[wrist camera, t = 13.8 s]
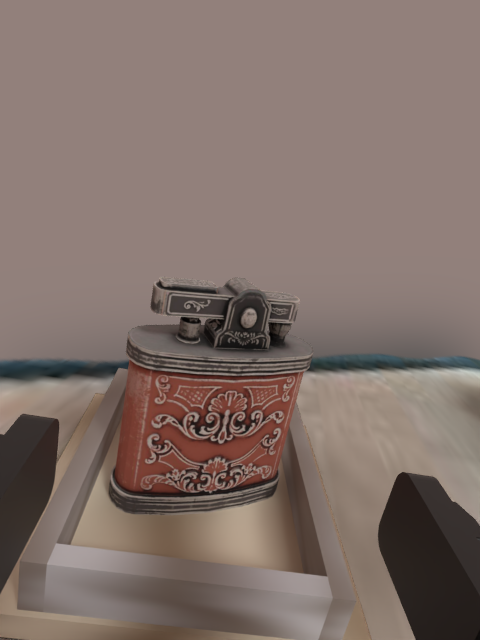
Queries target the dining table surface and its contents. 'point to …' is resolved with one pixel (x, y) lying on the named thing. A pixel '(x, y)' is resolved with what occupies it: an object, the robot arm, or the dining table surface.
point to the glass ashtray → (180, 556)
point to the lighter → (207, 399)
